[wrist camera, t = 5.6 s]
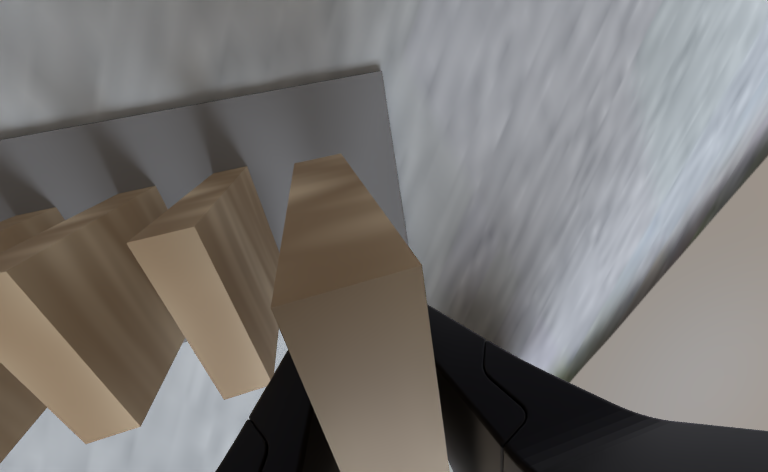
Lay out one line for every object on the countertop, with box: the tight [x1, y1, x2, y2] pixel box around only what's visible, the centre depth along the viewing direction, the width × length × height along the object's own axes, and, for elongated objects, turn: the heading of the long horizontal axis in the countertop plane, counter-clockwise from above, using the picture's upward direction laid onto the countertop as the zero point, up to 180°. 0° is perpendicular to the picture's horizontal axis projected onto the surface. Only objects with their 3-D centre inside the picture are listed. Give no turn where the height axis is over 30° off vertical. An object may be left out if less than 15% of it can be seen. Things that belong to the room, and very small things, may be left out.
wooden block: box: [0, 207, 65, 463], centre depth 11 cm, size 2×6×8 cm, turn 10°
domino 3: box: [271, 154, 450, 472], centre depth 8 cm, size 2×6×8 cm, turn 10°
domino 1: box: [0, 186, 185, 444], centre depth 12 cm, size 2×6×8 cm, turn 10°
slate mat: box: [0, 71, 408, 342], centre depth 15 cm, size 25×12×1 cm, turn 100°
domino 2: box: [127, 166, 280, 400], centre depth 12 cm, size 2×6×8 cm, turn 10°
